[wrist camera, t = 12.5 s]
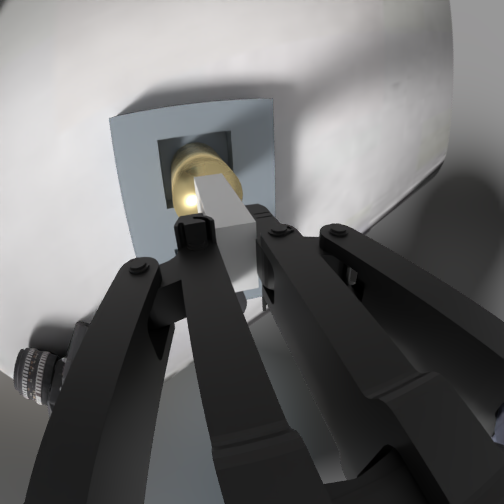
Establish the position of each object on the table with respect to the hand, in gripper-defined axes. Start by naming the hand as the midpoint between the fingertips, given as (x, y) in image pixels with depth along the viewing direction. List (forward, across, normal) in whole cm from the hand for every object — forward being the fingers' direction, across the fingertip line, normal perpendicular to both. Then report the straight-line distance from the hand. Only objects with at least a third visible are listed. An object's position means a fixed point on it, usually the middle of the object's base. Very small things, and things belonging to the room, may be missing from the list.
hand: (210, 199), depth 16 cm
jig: (+10, 0, -4) cm, 11 cm away
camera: (+10, -20, -20) cm, 30 cm away
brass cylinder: (+9, 0, 0) cm, 9 cm away
